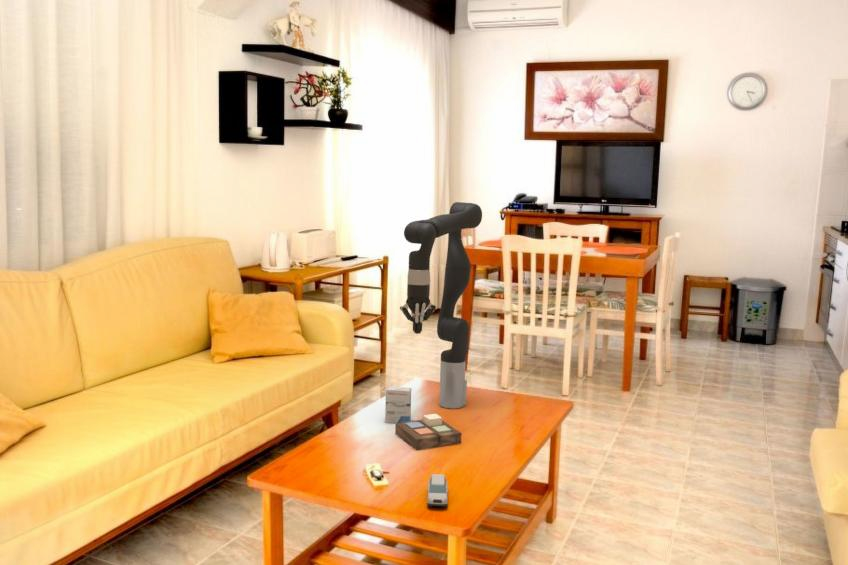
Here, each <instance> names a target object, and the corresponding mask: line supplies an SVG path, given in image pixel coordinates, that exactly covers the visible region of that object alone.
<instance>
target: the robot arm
mask: <svg viewBox="0 0 848 565" xmlns="http://www.w3.org/2000/svg"><path fill="white" fill-rule="evenodd" d="M482 220H483V211H482V208H481V206H480V205H478V204H477V203H473V202H460V201H459V202H458V201H457V202H456V201H455V202H454V203H452V204H451V206H450V208H449V212H448V213H445V214H440V215H436V216H433V217H431V218H428V219H421V220H419V219H418V220H415V221H411V222H409V223H407V225H406V226H405V228H404V230H403V236H404V239H405V240H406V241H407V242H408V243H411V244H417V245H420V246H419V247H420V248H419V249H418V250H413V251H410V253H409V254H408V271H407V283H406V284H407V287H406V297H407V298H406V301H405V304H404V305H400V306H399V310H400V311H401V313H403V315H404V316H405V318H406V319H407V321H409V322H412V332H414V334H418V335H419V334H421V333H422V332H423V322H425V321H428V319H429V318H430V317H431V315H432V314H433V312H434V311H435V310H436V308H437V306H436V305H434V304H433V303H431V300H430V292H431V289H430V288H431V272H430V269H431V268H430V267H431V266H430V264H431V255H432V251H433V247H434V246H435V245H434V244H435V241H436V239H437V238H440V237H442V236H445V235H447V234H448V237H447V238H448V240H447V253H446V261H445V262H446V263H445V269H444V270H445V271H444V279H443V290H442V298H441V305H440V308H439V315H438V319H437V324H436V325H437V326H436V333H437V337H438V338H439V339H440V340H441V341H445V342H450V343H452V344H451V348H450V349H446V350H443V351H442V352H441V353H440V365H439V368H440V370H439V396H438V397H439V399H438V402H439V403H438V405H439V406H440V407H442V408H445V409H459V408H463V407H466V406H467V391H468V390H467V389H468V381H467V380H466V359H467V355H468V354H467V353H468V349H469V348H468V347H469V338H470V325H469V323H468V321H467V319H465V318H461V317H455V309H456V305H457V302H458V301H459V299H460V297H461V296H462V295H463V294H464V292H465V290H466V289H467V287H468V285H469V284H470V280H471V277H470V276H471V270H472V269H471V267H472V266H471V265H472V264H471V261H470V258H469V255H468V253H467V251H466V248H465V247H464V246H465V245H464V243H463V241H462V230H465V229H467V230H468V229H475V228H478V226H479V225H480V224H481V223H482Z"/></svg>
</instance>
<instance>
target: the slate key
mask: <svg viewBox="0 0 848 565" xmlns="http://www.w3.org/2000/svg"><path fill="white" fill-rule="evenodd" d="M406 426H407V427H408V428H409V429H411V430H413V429H420V428H424V425H422V424H421V423H420V422H412V423H406Z"/></svg>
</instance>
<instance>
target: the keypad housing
mask: <svg viewBox="0 0 848 565" xmlns="http://www.w3.org/2000/svg"><path fill="white" fill-rule="evenodd" d="M412 422H420V423H421V424H422V425H424V428H428V429H429V430H431V431H432V432H433V434H432V435H425V436H419V435H418V434H416V433H415V432H414V429H413V430H411V429H409V428H408V427H407V426H406V423H412ZM443 425H445V426H446V427H448V428H449V429H451V432H446V433H439V434H438V433H436V432H435V431H433V430H432V427H436V426H432V427H429V426H427V425H426V424H424V423H423V419H418V420H410V422H403V423H395V427H394V428H395V430H394V431H395V433H394V434H395V435H396V436H397V437H399V438H400V439H401V440H403V441H404V442H405V443H407V444H408V445H409V446H411V448H413V449H414V450H416V451H420V450H427V449H433V448H440V447H445V446H452V445H458V444H459V445H460V444H462V433H463V432H461V431H459V430H458V429H456V428H455V427H453V426H452V425H450V424H449V423H447V421H445V420H443V419H442V425H439V426H443ZM420 429H421V428H420Z"/></svg>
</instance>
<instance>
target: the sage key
mask: <svg viewBox="0 0 848 565" xmlns="http://www.w3.org/2000/svg"><path fill="white" fill-rule="evenodd" d="M432 430H433V431H435V432H436V433H438V434H439V433H446V432H451V429H449V428H448V427H446V426H445V425H443V426H436V427H432Z"/></svg>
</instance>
